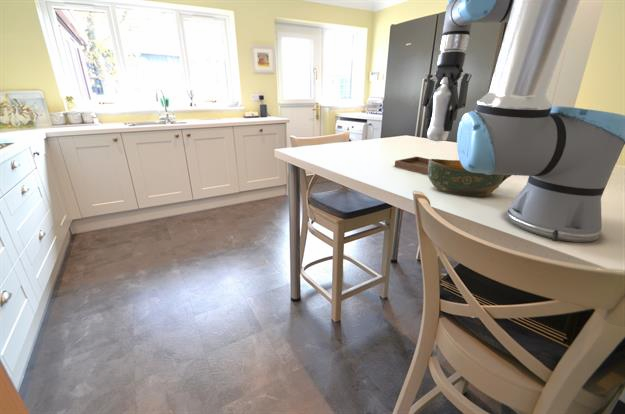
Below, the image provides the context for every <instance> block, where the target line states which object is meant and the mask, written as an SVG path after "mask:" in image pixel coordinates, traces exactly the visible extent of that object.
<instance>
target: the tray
mask: <svg viewBox="0 0 625 414" xmlns="http://www.w3.org/2000/svg"><path fill="white" fill-rule="evenodd" d="M430 159H431V158H427V157H423V156H422V157H421V156H411V157H407V158H402V159H397V160H394V168H397V169H402V170H405V171H410V172H414V173H418V174H420V175H426V176H428V164H429V160H430Z"/></svg>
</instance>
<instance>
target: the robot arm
mask: <svg viewBox="0 0 625 414" xmlns="http://www.w3.org/2000/svg"><path fill="white" fill-rule="evenodd" d="M580 1H581V0H447V4H446V7H445V15H444V23H443V29H442V35H441V41H440V46H439V52H440V53H439V54H438V59H437V65H436V67H437V68H436V71H435V72H434V73H432V74H427V75H426V86H425V90H424V91H425V92H424V96H423V99H422V104H421V105H422V107H425V108H426V113H425V119H427V121H426V126H425V130H428V129H429V127H430V123H431V118H432V113H433V95H434V93H435V91H436V90H437V89H438V88H439V87H440V85H441V80H442V78H443V77H447V79H448V86H449V88H450V91H451V107H452V108H451V110H449V112H448V117H447V123H446V128H445V131H449V132H451V131H452V130H453V125H454V121H456V120H457V117H458V113H459V110H461V109H465V108H466V103H467V98H468V97H467V96H468V90H469V83H470V80H471V79H472V75H473V74H472V73H469V72H464V69H463V67H464V64H465V60H466V51H467V49H468V44H469V39H470V33H471V28H472V24H479V23H480V24H481V23H482V24H485V23H488V24H489V23H490V24H491V23H506V24H507V25H506V28H505V32H504V35H503V39H502V42H501V47H500V49H499V54H498V57H497V61H496V65H495V68H494V71H493V76H492V79H491V82H490V87H489V90H488V92H487V93H486V94H485V95H483V96H481V97H480V98H479V99H477V101H476V105H475V108H474V110H470V111H468V112H465V113H464V114H463V116H462V117H461V120H460V122H459V124H458V128H457V134H456V151H457V156H458V160H460V162H461V164H462V166H463V167H464V168H465V169H466V170H467V171H469V172H473V173H483V174H486V175H491V174H498V175H511V176H522V177H523V176H524V177H528V178H527V181H526V184H525V185H524V187H523V188H522V190H521V191H520V192H519V193H518V194H517V196H516V198H515V199H514V200H513V201H512V202H511V204H510V205H509V206H508V209H507V212H506V215H505V217H506V219H507V220H508V221H509V222H510V223H511V224H512V225H514V226H516V227H517V228H520V229H522V230H524V231H527V232H529V233H532V234H535V235H538V236H541V237H544V238H549V239H552V241H553V242H558V241H564V242H571V243H589V242H590V243H591V242H594V241H596V240H598V239H599V237H600V234H601V233H602V230H603V229H602V228H603V225H602V223H603V221H602V220H603V219H602V197H603V194H604V192H605V190H606V187H607V185H608V182H609V180H610V178H611V176H612V173H613V171H614V168H615V167H616V165H617V162H618V160H619V158H620V156H621V153H622V151H623V149H624V147H625V114H621V113H615V112H610V111H604V110H596V109H586V108H580V107H571V106H561V105H554V106H553V105H552V103H551V102H550V100H549V99H548V98H547V92H548V89H549V87H550V84H551V80H552V78H553V75H554V73H555V70H556V68H557V65H558V62H559V59H560V56H561V53H562V51H563V48H564V45H565V42H566V40H567V37H568V35H569V32H570V29H571V26H572V24H573V21H574V18H575V15H576V12H577V10H578V7H579V5H580ZM436 80H437V81H436ZM459 80H460V84H459V82H458V81H459ZM435 81H436V83H435ZM459 85H460V86H459ZM458 88H459V89H458ZM458 90H459V92H458Z"/></svg>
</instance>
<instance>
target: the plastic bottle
mask: <svg viewBox="0 0 625 414" xmlns="http://www.w3.org/2000/svg"><path fill="white" fill-rule="evenodd" d="M451 108H452V107H451V91H450V88H449V86H448V79H447V77H443V78H442V80H441V85H440V87H439V88H438V89H437V90H436V91H435V93H434V95H433V113H432V118H431V123H430V127H429V129H427V133H426V137H427V139H428V140H430V141H432V142H436V143H439V142H443V141H444V142H445V141H446V140H447V139H448V137H449V133H450V131H445V128H446V123H447V117H448V112H449V110H451Z"/></svg>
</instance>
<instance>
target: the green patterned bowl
mask: <svg viewBox="0 0 625 414" xmlns="http://www.w3.org/2000/svg"><path fill="white" fill-rule="evenodd" d="M429 159H430V160H429V164H428V175H427V176H428V179H429V181H430V183H431V184H432V186H433V189H434V190H436V191H438V192H441V193H445V194H449V195H454V196H461V197H462V196H463V197H471V198H486V197H489V196H490V195H492V193H493V192H495V190H497V189H498V188H499V186H500V185H501V184H503V183H504V181H506V180H507V179H508V178H510V177H511V176H512V175H498V174H491V175H486V174H483V173H473V172H469V171H467V170H466V169H465V168H464V167H463V166H462V164H461V162H460V160H459V159H458V160H457V159H455V160H454V159H441V158H429Z"/></svg>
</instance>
